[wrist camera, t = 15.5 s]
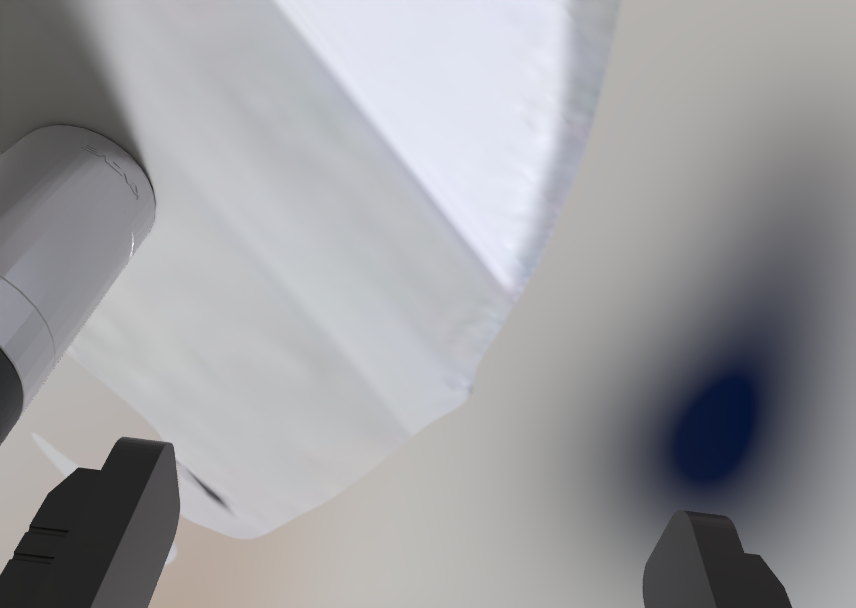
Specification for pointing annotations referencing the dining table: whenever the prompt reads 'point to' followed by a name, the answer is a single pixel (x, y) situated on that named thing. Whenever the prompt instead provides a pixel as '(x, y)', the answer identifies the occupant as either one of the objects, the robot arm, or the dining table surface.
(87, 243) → the robot arm
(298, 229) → the dining table surface
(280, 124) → the dining table surface
